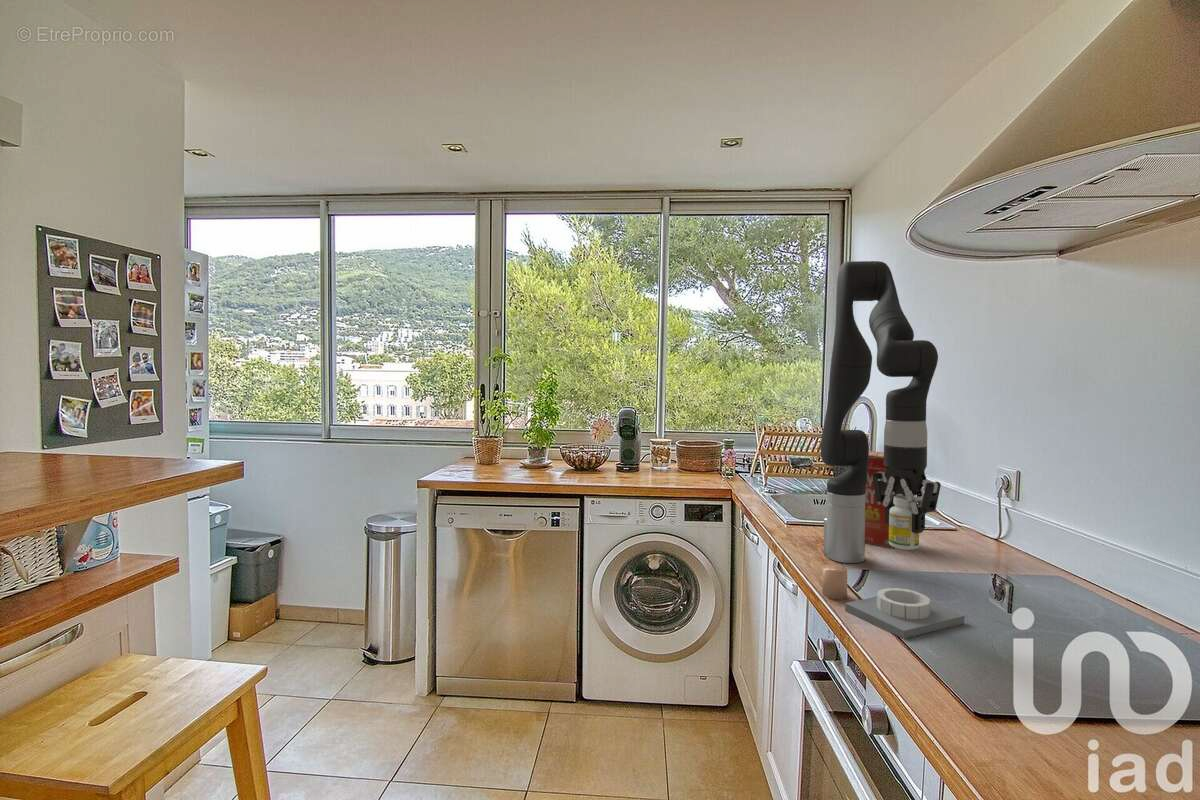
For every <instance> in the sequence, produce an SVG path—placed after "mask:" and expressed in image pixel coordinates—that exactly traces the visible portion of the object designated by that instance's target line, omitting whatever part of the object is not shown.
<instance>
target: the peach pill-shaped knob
mask: <svg viewBox="0 0 1200 800" xmlns="http://www.w3.org/2000/svg"><path fill="white" fill-rule="evenodd" d="M821 580H822V581H821V582H822V583H821V584H822V585H821V587H822V589H821V590H822V591H821V592H822V593H821V594H823V595H822V596H823V597H824V596H825V597H824V598H826V597H828V598H827V599H829V598H831V599H830V600H834V599H839V600H838V601H841V599H842V600H846V599H847V598H848V568H847V567H845V566H843V565H839V564H831V563H830V564H825V565H823V566H822V579H821Z"/></svg>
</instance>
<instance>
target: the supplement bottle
mask: <svg viewBox="0 0 1200 800" xmlns="http://www.w3.org/2000/svg"><path fill="white" fill-rule="evenodd" d="M893 503H894V505H895V506H893V507H891V508H890V510H889V544H890V545H891V546H893V547H895V548H894V549H900V550H906V551H907V550H916V549H918V548H919V547H920V546H919V545H920V533H913V532H912V514H914V513H913V511H912V508H911V505H910V503H909V502H908V501H907V498H906V496H894V498H893Z"/></svg>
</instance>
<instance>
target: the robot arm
mask: <svg viewBox="0 0 1200 800" xmlns="http://www.w3.org/2000/svg"><path fill="white" fill-rule="evenodd" d="M892 273H893V272H892V271H891V268H890V266H888V264H887V263H885V262H884V261H879V260H878V261H877V260H870V261H869V260H868V261H866V260H861V261H857V260H855V261H844V262H843V263H842V264H841V265H840V267H839V269H838V272H837V279H836V280H837V281H836V298H835V299H836V300H835V301H836V302H835V304H836V305H835V306H836V307H835V325H834V326H835V328H834V336H833V346H832V351H831V359H830V370H829V380H828V381H829V384H828V396H827V403H826V404H827V405H826V410H825V415H824V416H825V417H824V422H823V428H822V432H821V439H820V451H819V452H820V457H821V461H822V462H823V464H825V465H827V466H830V467H847V466H848V469H847V468H846V470H845V471H844V472H842V473H841V474H839V475H837V476H834V477H831V478H829V479H828V480H827V481H826V517H825V518H824V519H823V555H824V556H826V557H827V559H829V560H832V561H835V562H839V563H845V564H857V563H862V562H864V561H865V560H866V543H865V506H866V505H865V502H866V484H867V471H868V457H869V451H870V447H869V446H870V445H869V439H868V436H867V434H866V433H865V432H864V430H861V429H842V427H843V425H844V420H845V419H846V416H847V414H848V412H850V409H851V408H852V407H853V406H854V404H855V403H856V402H857V401H858V400H859V398H861V397H862V394H864V392H865V391H866V390H867V388H868V386H869V383H870V381H871V374H872V365H873V355H872V351H871V348H870V347H869V344H868V343H867V341H866V339H865V338H864V336H863V334H862V333H861V331H860V328H858V324H857V323H856V319H855V316H854V315H855V314H854V302H874V301H876V302H877V303H876V304H875V305H874V307H873V308H872V310H871V312H870V314H869V317H868V323H869V328H870V331H871V334H872V336H873V338H874V340H875V343H876V349H877V351H876V367H877V369H878V371H879V372H880V373H881V374H882V375H884V376H886V377H889V378H890V377H891V378H902V377H903V378H907V377H909V378H912V379H911V381H910V382H909V384H907V386H904V387H901V388H896V389H893V390H890V391H888V392H887V393H886V398H885V424H884V430H883V452H884V465H885V466H886V470H885V472H874V473H873V474H872V476H873V483H874V490H875V497H876V501H878V502H881V503H883V505H884V506H885V522H886V524H887V525H888V526H889V510H890V508H891V507H893V506H895V505H894V503H893V498H894V496H901V495H904V496H906V498H907V501H908V502H909V503H910V505H911V508H912V511H913V513H914V514H912V532H913V533H919V534H921V533H923V532H924V531H925V529H926V514H928V513H934V512H935V511H936V509H937V506H938V500H939V494H940V490H941V486H942V485H941V483H940V482H939V481H931V480H929V479H928V478H927V476H926V473H925V470H926V468H927V467H928V428H927V427H928V426H927V400H928V399H927V398H928V396H929V392H930V391H929V390H930V387H931V384H932V380H933V377H934V375H935V371H936V369H937V366H938V363H939V362H938V361H939V353H938V350H937V348H936V346H935V344H934V343H932V342H931V341H930V340H924V339H923V340H922V339H920V340H919V339H917V340H914V338H915V332H914V330H913V328H912V325H911V323H910V322H909V321H908V319H907V317H906V315H905V314H904V310H902V307H901V304H900V300H899V296H898V292H897V288H896V284H895V279H894V277H893V274H892ZM887 482H888V486H887ZM881 489H882V494H881Z"/></svg>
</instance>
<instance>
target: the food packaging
mask: <svg viewBox="0 0 1200 800" xmlns="http://www.w3.org/2000/svg"><path fill="white" fill-rule="evenodd" d="M847 469H848V466H846V470H847ZM885 470H886V466H885V465H884V451H875V450H874V451H873V450H872V451H871V450H869V457H868V471H867V484H866V502H865V505H866V506H865V545H866V544H868V545H870V546H871V545H872V546H878V547H882V548H883V547H884V548H888V549H896V548H895V547H893V546H891V545H890V544H889V526H888V525H887V524H886V522H885V506H884V505H883V503H881V502H878V501H876V497H875V490H874V483H873V476H872V474H873V473H874V472H885ZM887 486H888V482H887ZM881 494H882V489H881ZM901 496H904V495H901Z"/></svg>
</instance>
